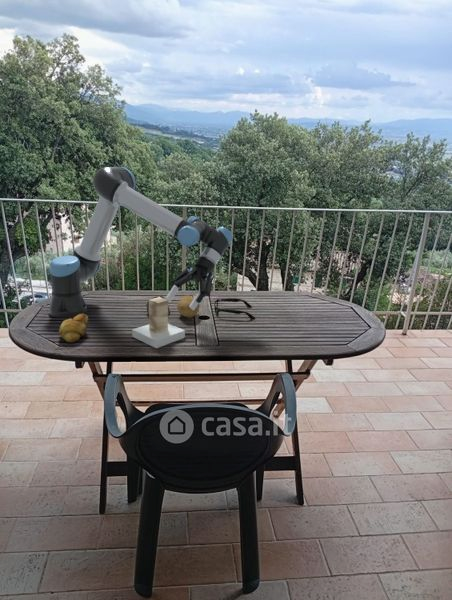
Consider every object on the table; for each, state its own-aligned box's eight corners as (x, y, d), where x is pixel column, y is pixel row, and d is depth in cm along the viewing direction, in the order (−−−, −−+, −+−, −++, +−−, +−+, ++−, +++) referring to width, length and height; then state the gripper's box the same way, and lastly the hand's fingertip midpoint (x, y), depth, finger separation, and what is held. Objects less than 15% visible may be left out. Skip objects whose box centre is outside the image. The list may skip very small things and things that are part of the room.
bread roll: (80, 345, 152) (79, 324, 149) (53, 344, 152) (51, 323, 149) (90, 331, 164) (89, 311, 162) (65, 330, 164) (63, 311, 161)
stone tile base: (132, 336, 160) (132, 329, 160) (161, 327, 171) (161, 320, 170) (156, 348, 152) (156, 340, 151) (184, 337, 162) (184, 330, 161)
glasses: (214, 308, 199) (214, 298, 197) (251, 307, 199) (252, 297, 198) (214, 321, 183) (214, 310, 181) (255, 320, 184) (255, 309, 182)
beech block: (149, 329, 160) (148, 299, 156) (159, 326, 164) (159, 296, 160) (157, 333, 157) (157, 303, 153) (168, 330, 160) (168, 300, 157)
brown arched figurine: (170, 317, 183) (160, 303, 179) (151, 324, 185) (141, 310, 181) (173, 302, 193) (164, 288, 189) (155, 309, 195) (146, 295, 191)
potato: (176, 322, 177) (176, 303, 174) (177, 310, 190) (177, 293, 188) (199, 322, 178) (200, 304, 175) (199, 310, 191) (199, 293, 188)
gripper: (234, 272, 166) (206, 317, 160) (190, 260, 182) (163, 301, 176) (226, 261, 161) (197, 307, 155) (181, 250, 176) (153, 291, 170)
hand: (179, 304), depth 165 cm, fingers open, 13 cm apart
